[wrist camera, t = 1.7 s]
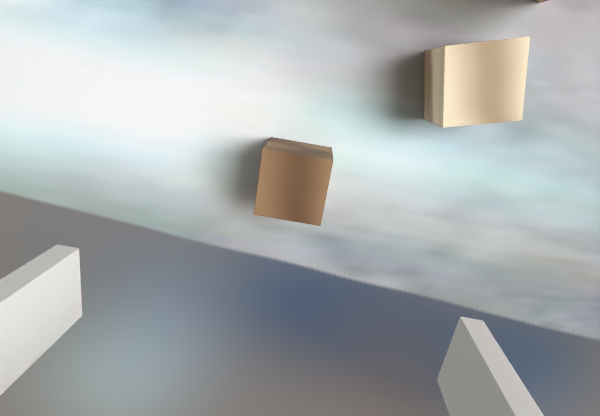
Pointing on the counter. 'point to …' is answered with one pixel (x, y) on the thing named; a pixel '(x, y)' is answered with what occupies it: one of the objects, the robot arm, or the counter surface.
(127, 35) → the counter surface
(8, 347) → the robot arm
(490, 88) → the maple cube
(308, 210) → the walnut cube
